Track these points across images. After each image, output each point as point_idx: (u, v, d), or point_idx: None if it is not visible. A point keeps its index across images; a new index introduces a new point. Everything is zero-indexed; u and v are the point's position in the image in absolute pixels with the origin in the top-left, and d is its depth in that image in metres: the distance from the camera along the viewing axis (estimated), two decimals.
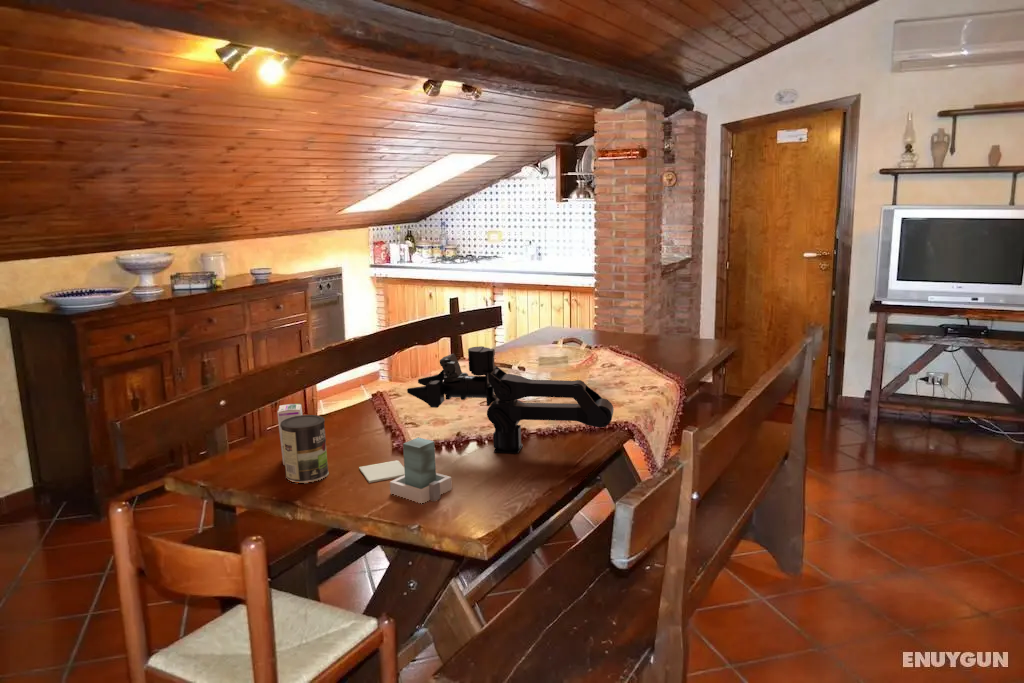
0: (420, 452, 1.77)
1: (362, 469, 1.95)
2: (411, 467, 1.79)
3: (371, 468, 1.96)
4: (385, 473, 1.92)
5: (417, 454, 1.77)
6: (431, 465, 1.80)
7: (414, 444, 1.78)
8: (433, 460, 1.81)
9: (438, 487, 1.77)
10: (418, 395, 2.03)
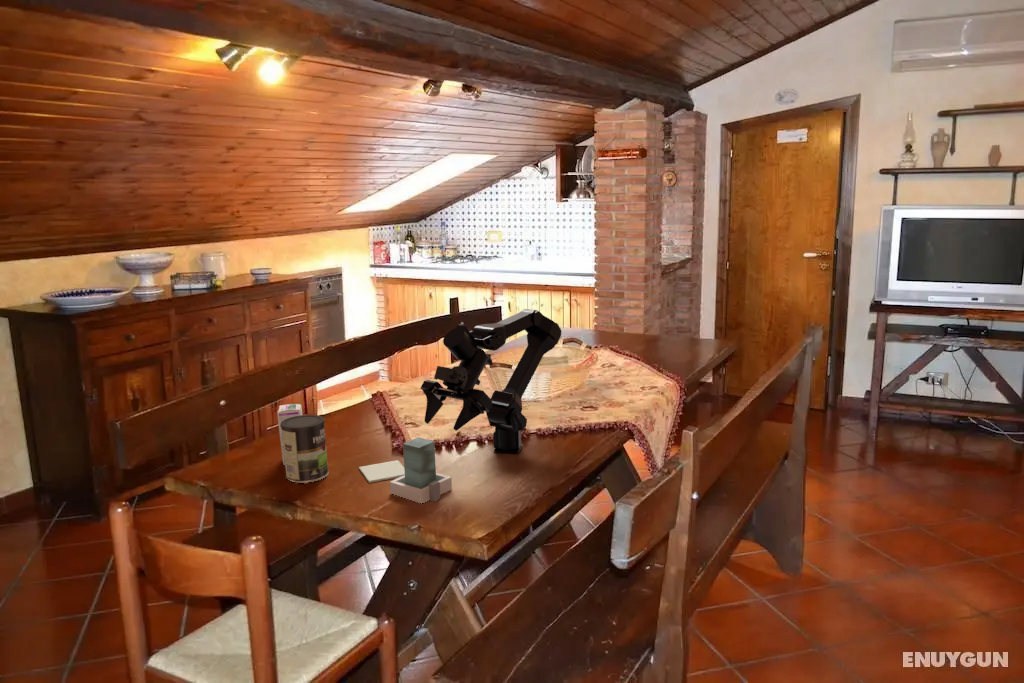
0: (420, 452, 1.77)
1: (362, 469, 1.95)
2: (411, 467, 1.79)
3: (371, 468, 1.96)
4: (385, 473, 1.92)
5: (417, 454, 1.77)
6: (431, 465, 1.80)
7: (414, 444, 1.78)
8: (433, 460, 1.81)
9: (438, 487, 1.77)
10: (466, 420, 1.84)
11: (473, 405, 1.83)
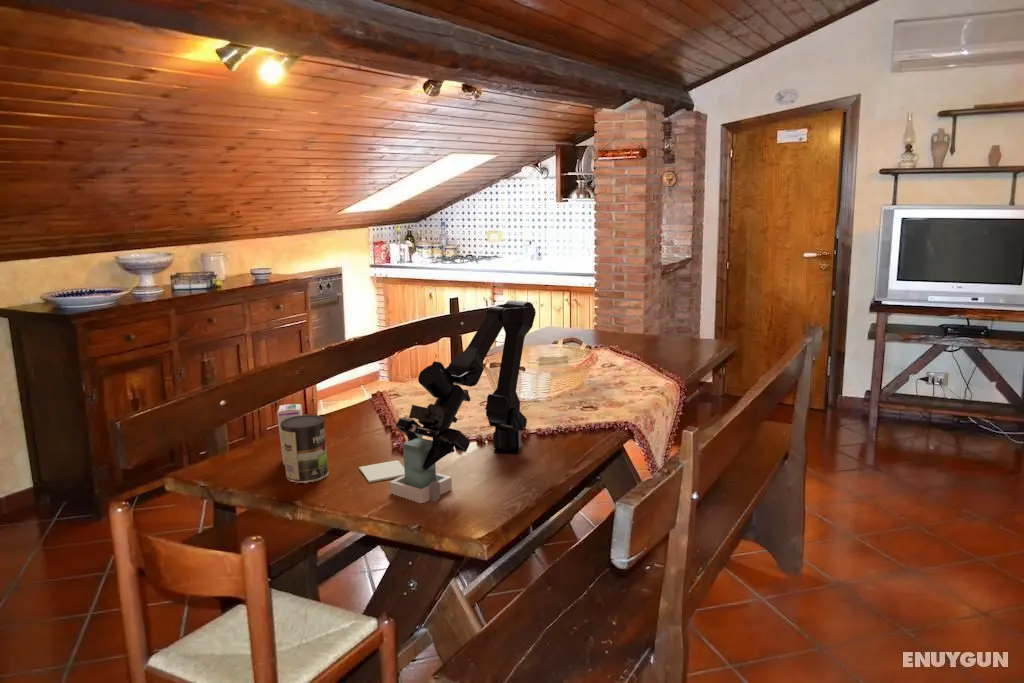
0: (420, 451, 1.77)
1: (362, 469, 1.95)
2: (410, 467, 1.79)
3: (371, 468, 1.96)
4: (385, 473, 1.92)
5: (417, 454, 1.77)
6: None
7: (414, 444, 1.78)
8: None
9: (438, 487, 1.77)
10: (436, 459, 1.79)
11: (443, 444, 1.78)
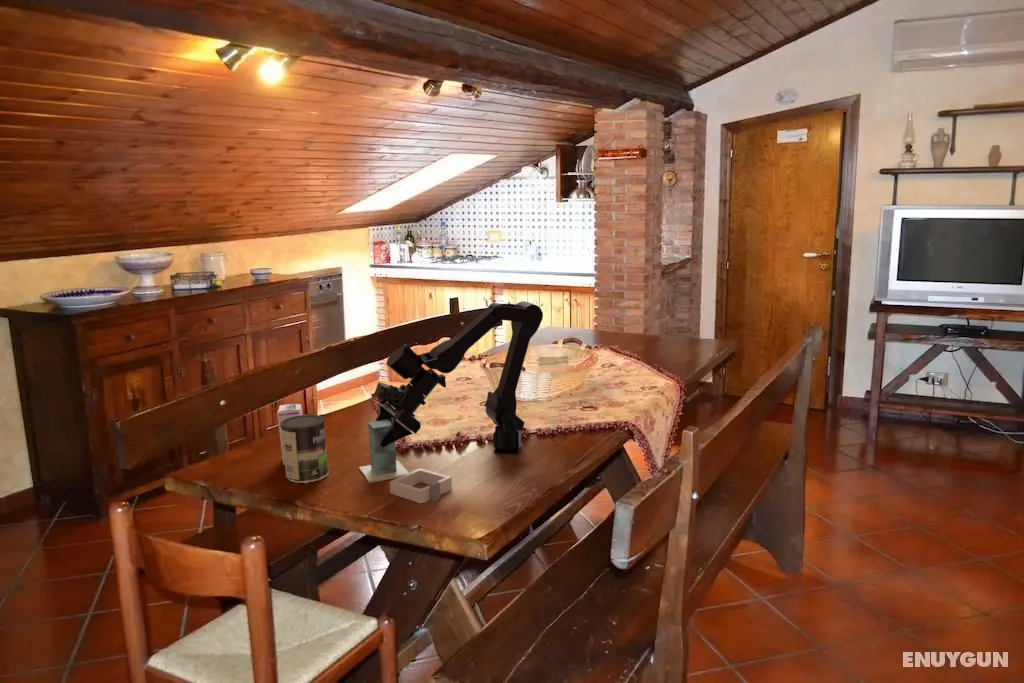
0: (375, 432, 1.89)
1: (362, 469, 1.95)
2: (371, 445, 1.92)
3: None
4: None
5: (373, 433, 1.89)
6: (389, 447, 1.91)
7: (374, 425, 1.91)
8: None
9: (438, 487, 1.77)
10: (394, 438, 1.88)
11: (398, 425, 1.86)
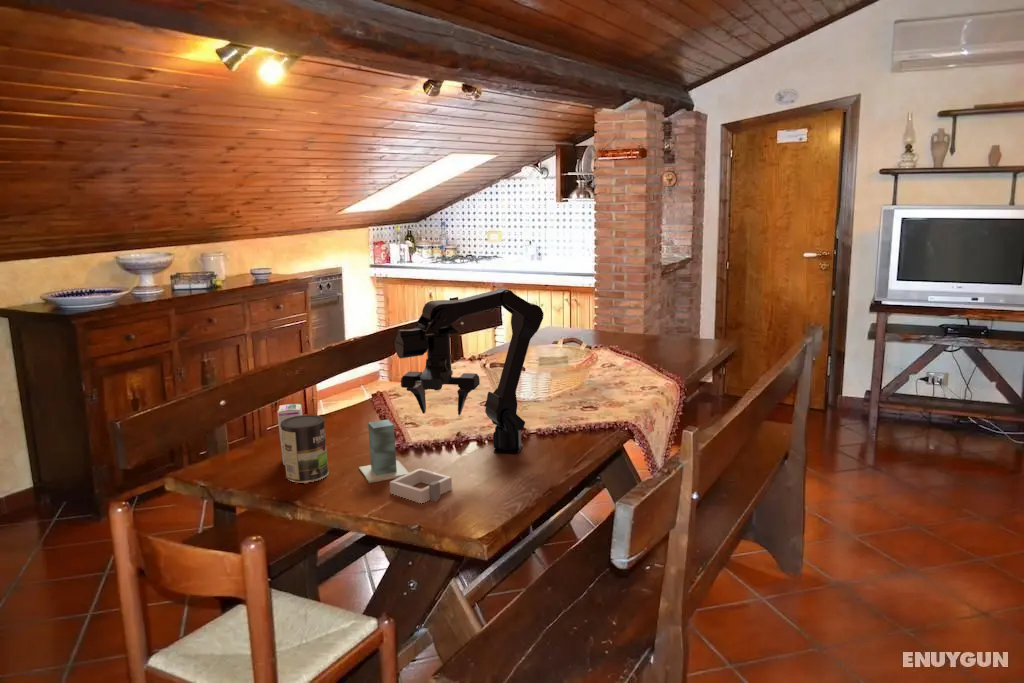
0: (375, 432, 1.89)
1: (362, 469, 1.95)
2: (371, 445, 1.92)
3: None
4: None
5: (373, 433, 1.89)
6: (389, 447, 1.91)
7: (374, 425, 1.91)
8: (392, 442, 1.91)
9: (438, 487, 1.77)
10: (464, 401, 1.95)
11: None
